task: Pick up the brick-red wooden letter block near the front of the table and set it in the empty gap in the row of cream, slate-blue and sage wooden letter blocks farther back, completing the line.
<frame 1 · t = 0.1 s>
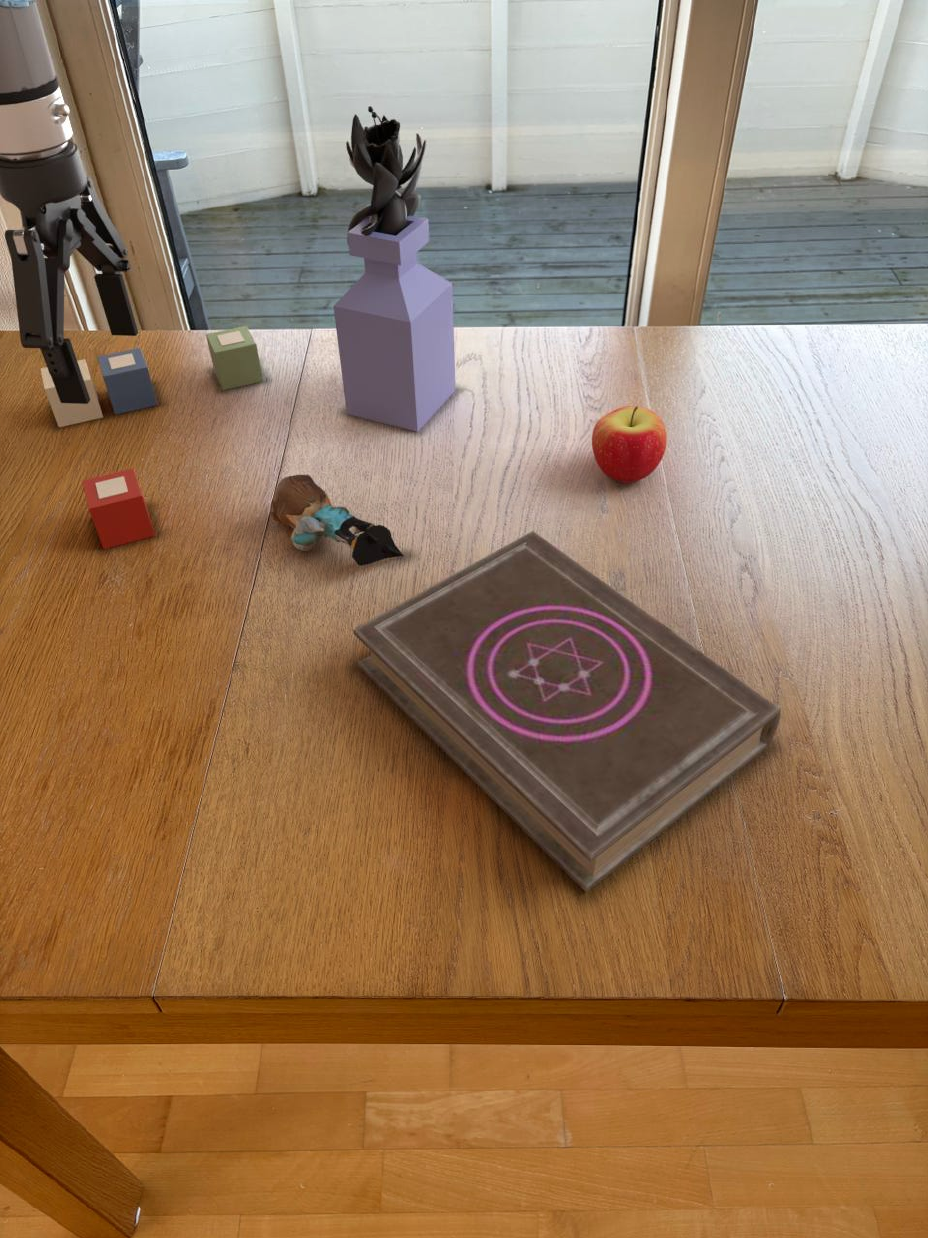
hand: (101, 366, 97), 17 cm above the table, tool pointing down, fingers open, 13 cm apart
sage block: (238, 376, 128), on the table
blue block: (133, 399, 124), on the table
vase: (402, 401, 123), on the table
cream block: (78, 411, 122), on the table
book: (556, 704, 86), on the table
red block: (125, 528, 105), on the table
figurine: (331, 545, 102), on the table
apple: (624, 475, 110), on the table
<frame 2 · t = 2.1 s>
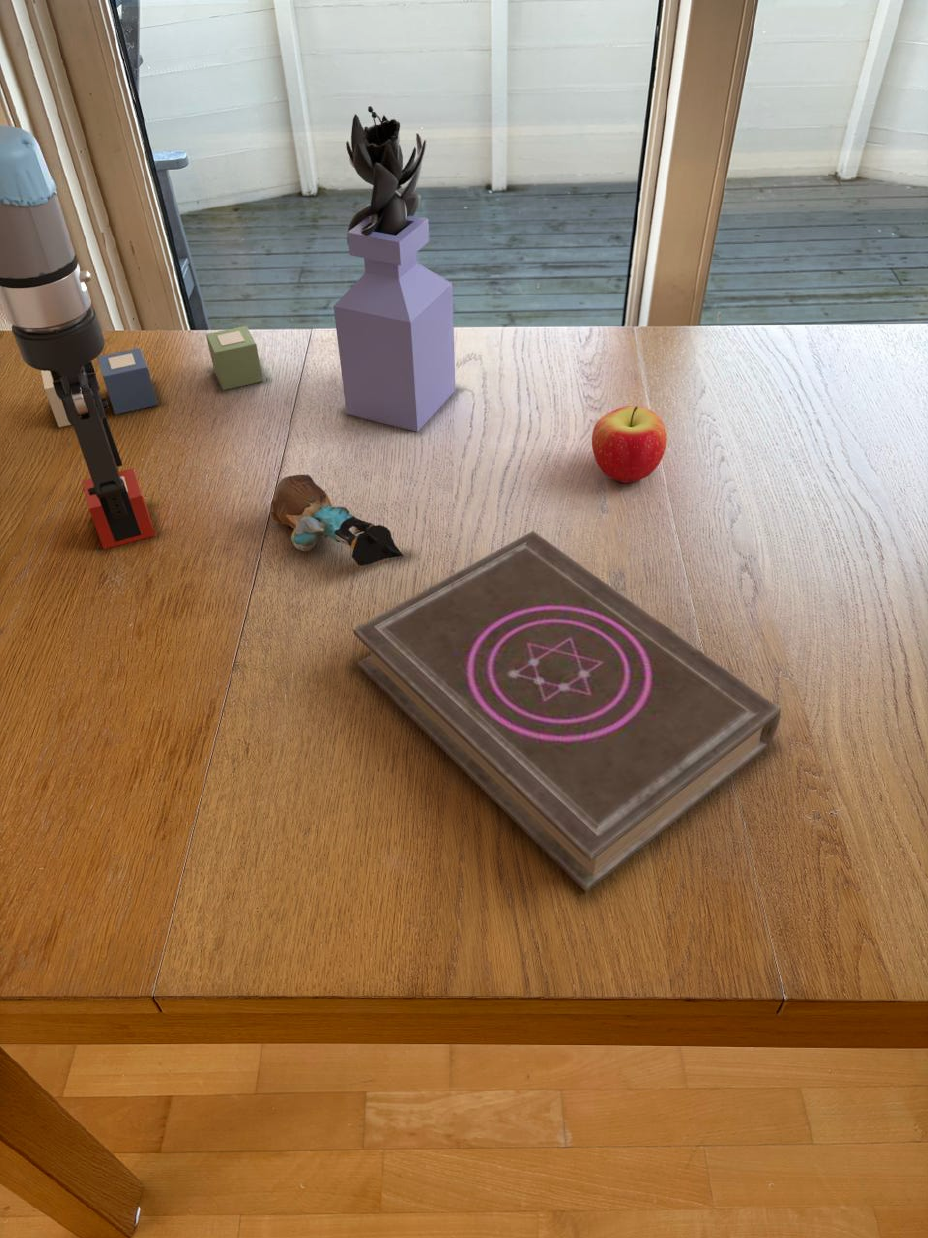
hand: (118, 500, 102), 4 cm above the table, tool pointing down, fingers open, 13 cm apart
nothing on the table moved.
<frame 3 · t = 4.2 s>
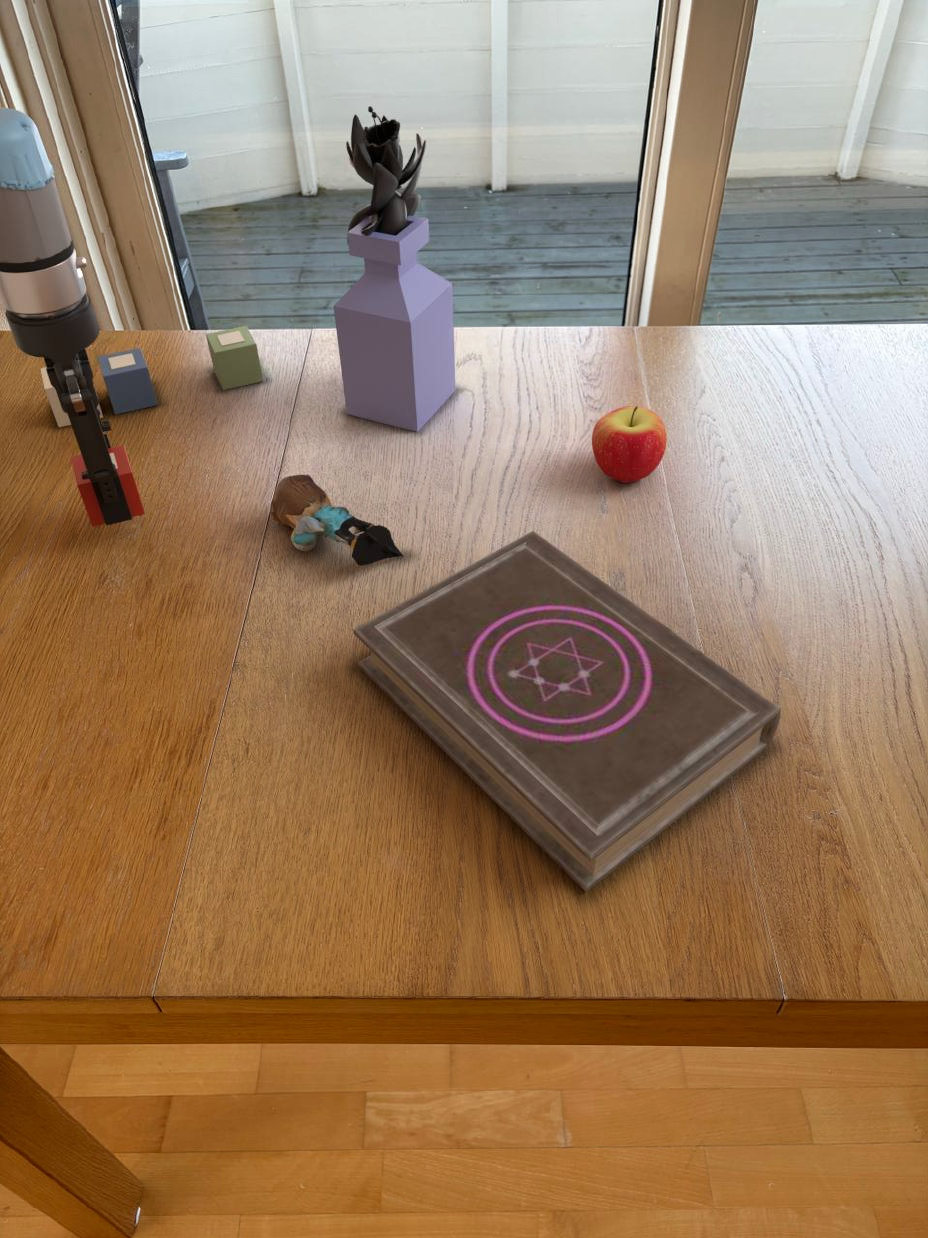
hand: (114, 503, 103), 3 cm above the table, tool pointing down, fingers closed on red block, 5 cm apart
red block: (115, 506, 103), point 3 cm above the table, touching gripper
everything else where it was.
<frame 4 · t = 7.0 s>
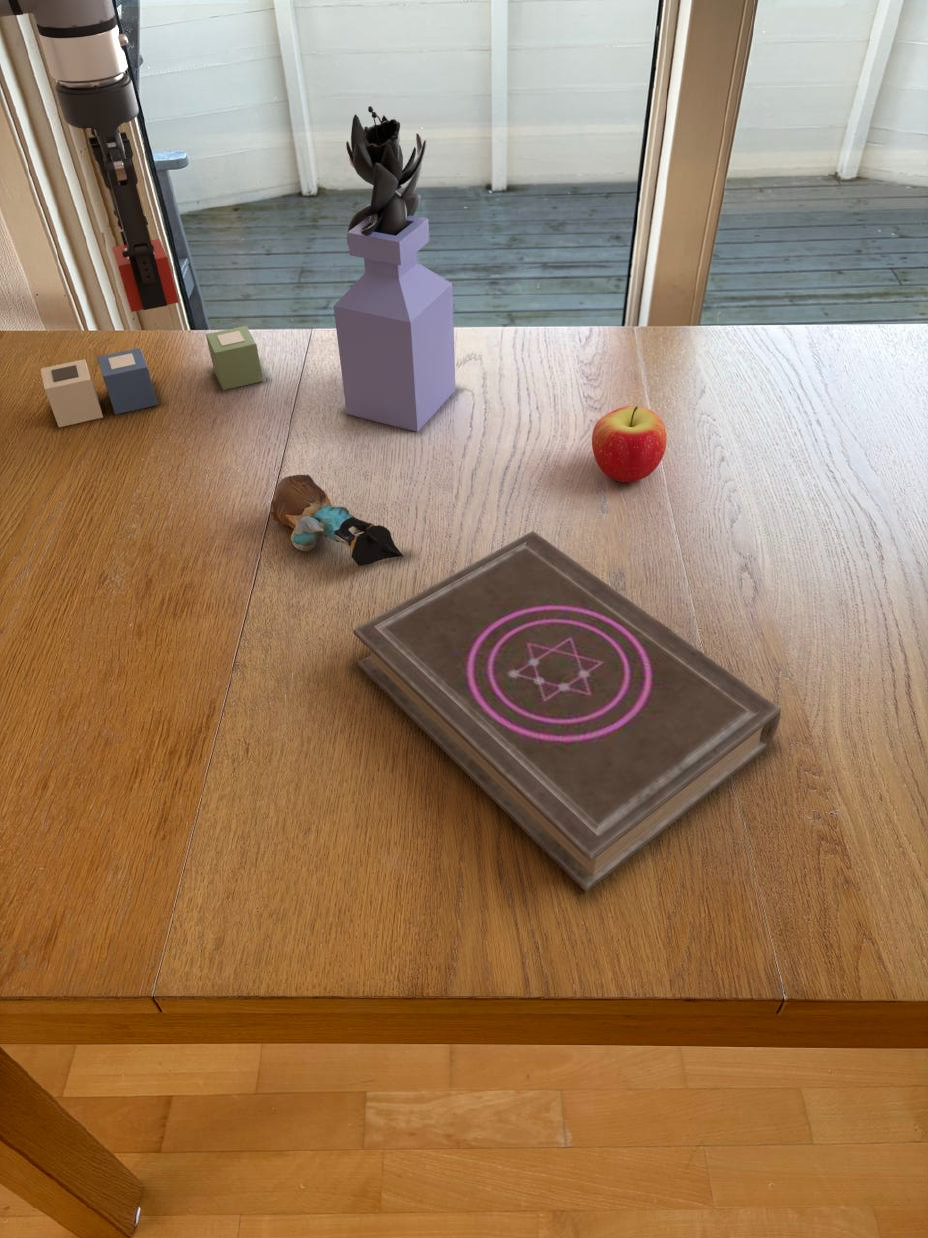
hand: (150, 295, 112), 15 cm above the table, tool pointing down, fingers closed on red block, 5 cm apart
red block: (151, 297, 112), point 15 cm above the table, touching gripper
everything else where it was.
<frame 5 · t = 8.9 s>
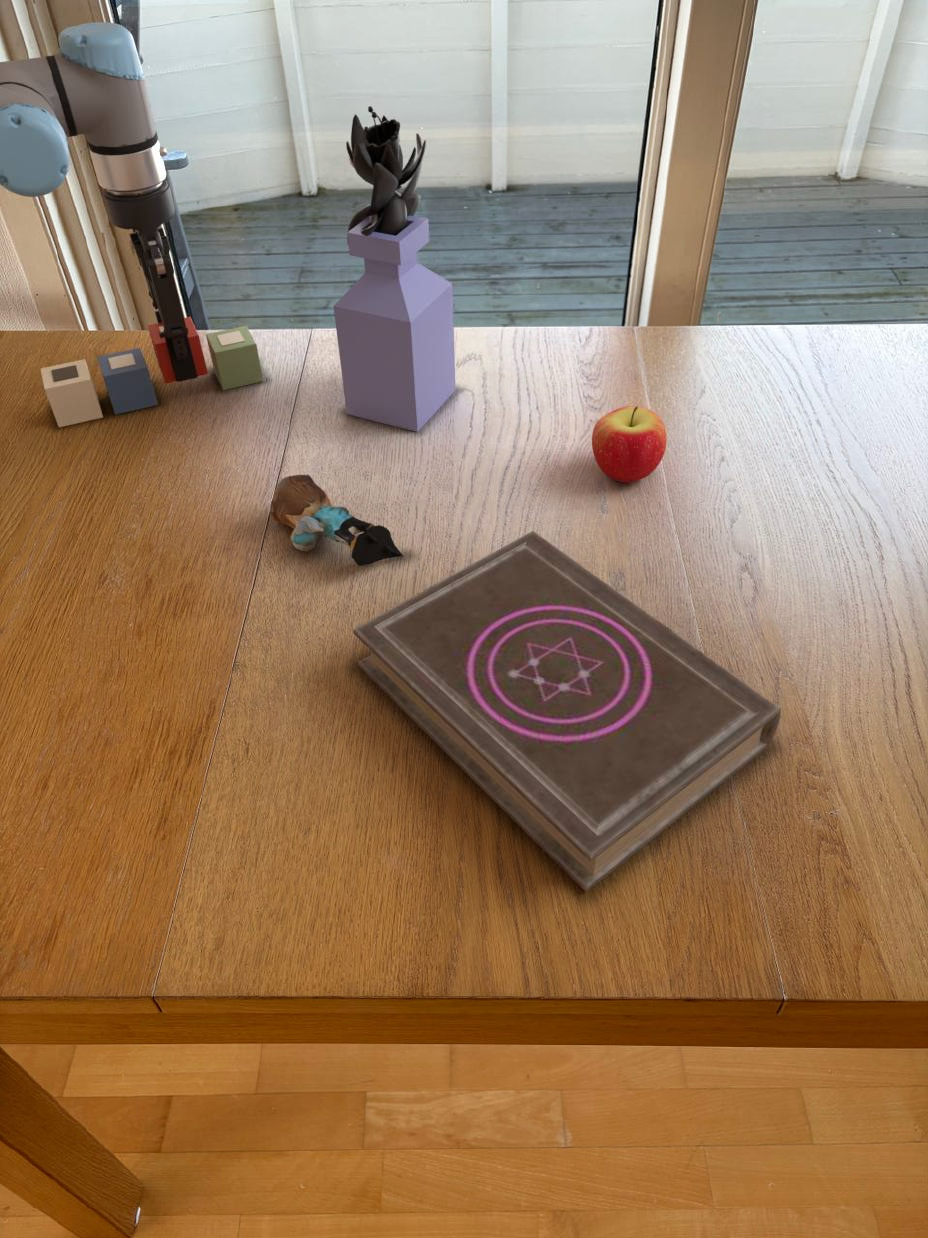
hand: (182, 367, 124), 3 cm above the table, tool pointing down, fingers closed on red block, 5 cm apart
red block: (183, 368, 124), point 3 cm above the table, touching gripper
everything else where it was.
when the fingers open (0 cm above the table, at t = 10.1 s): red block stays where it is, on the table.
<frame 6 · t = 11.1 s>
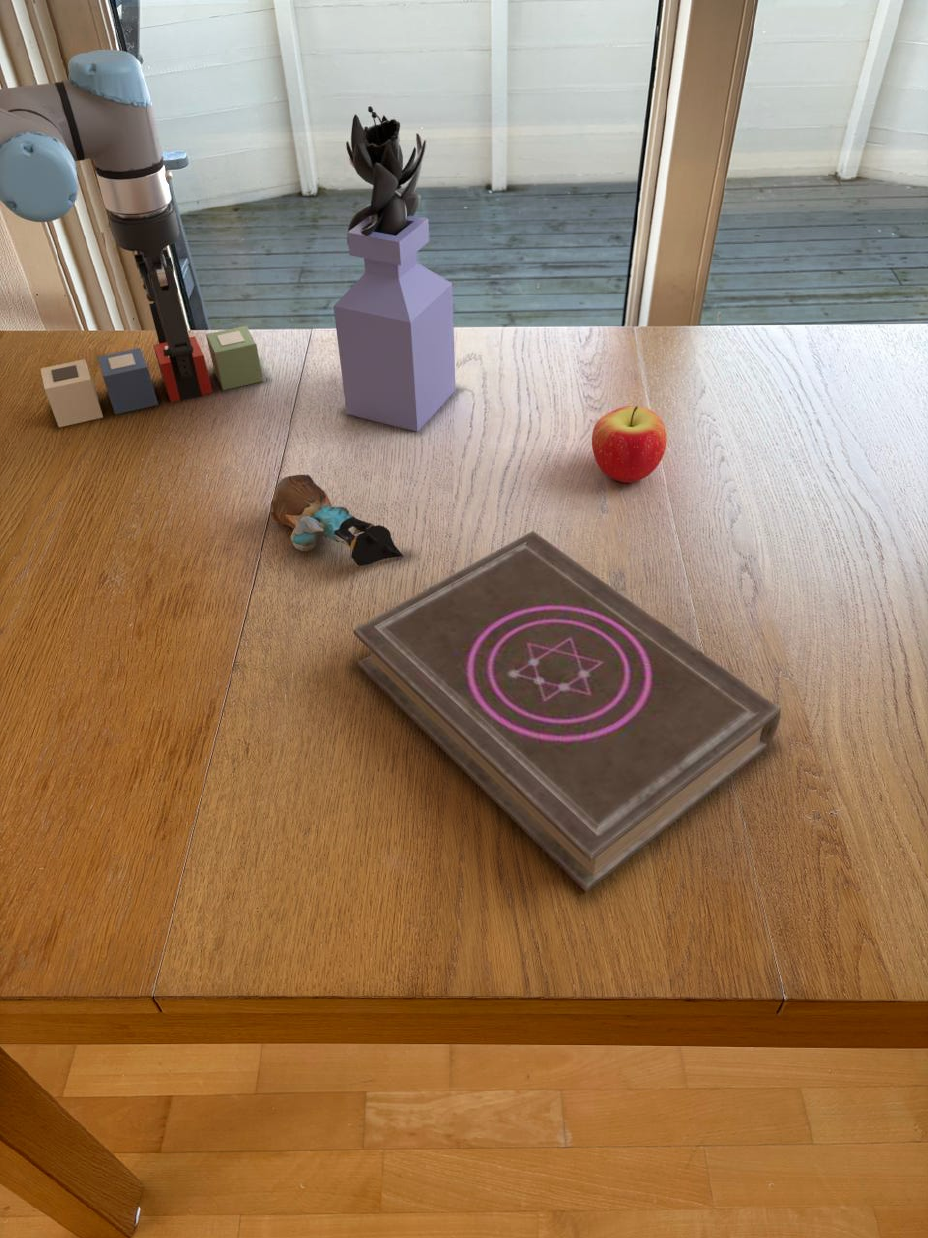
hand: (180, 372, 124), 2 cm above the table, tool pointing down, fingers open, 13 cm apart
red block: (187, 387, 126), on the table
everything else where it was.
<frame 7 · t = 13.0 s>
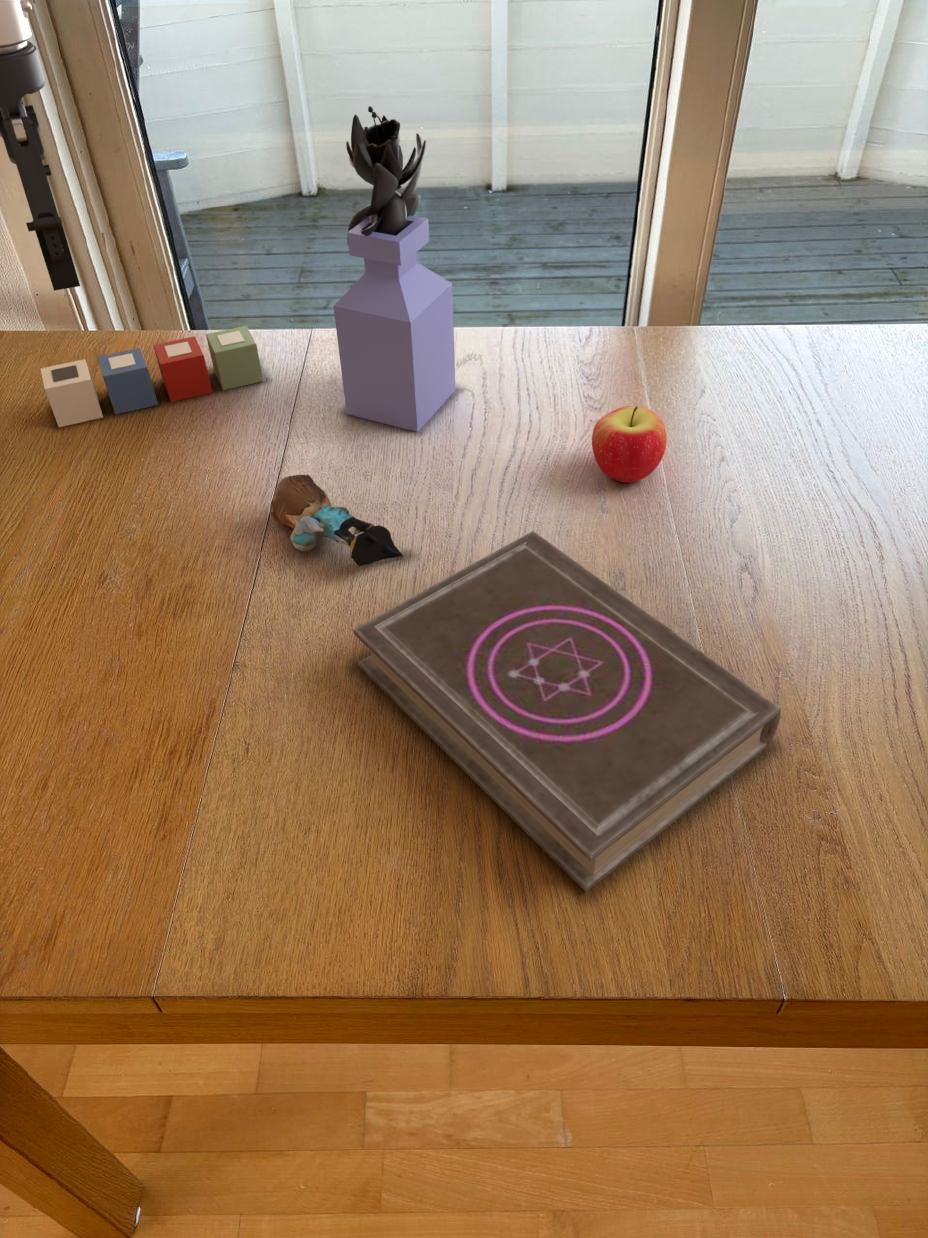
hand: (59, 262, 105), 21 cm above the table, tool pointing down, fingers open, 13 cm apart
nothing on the table moved.
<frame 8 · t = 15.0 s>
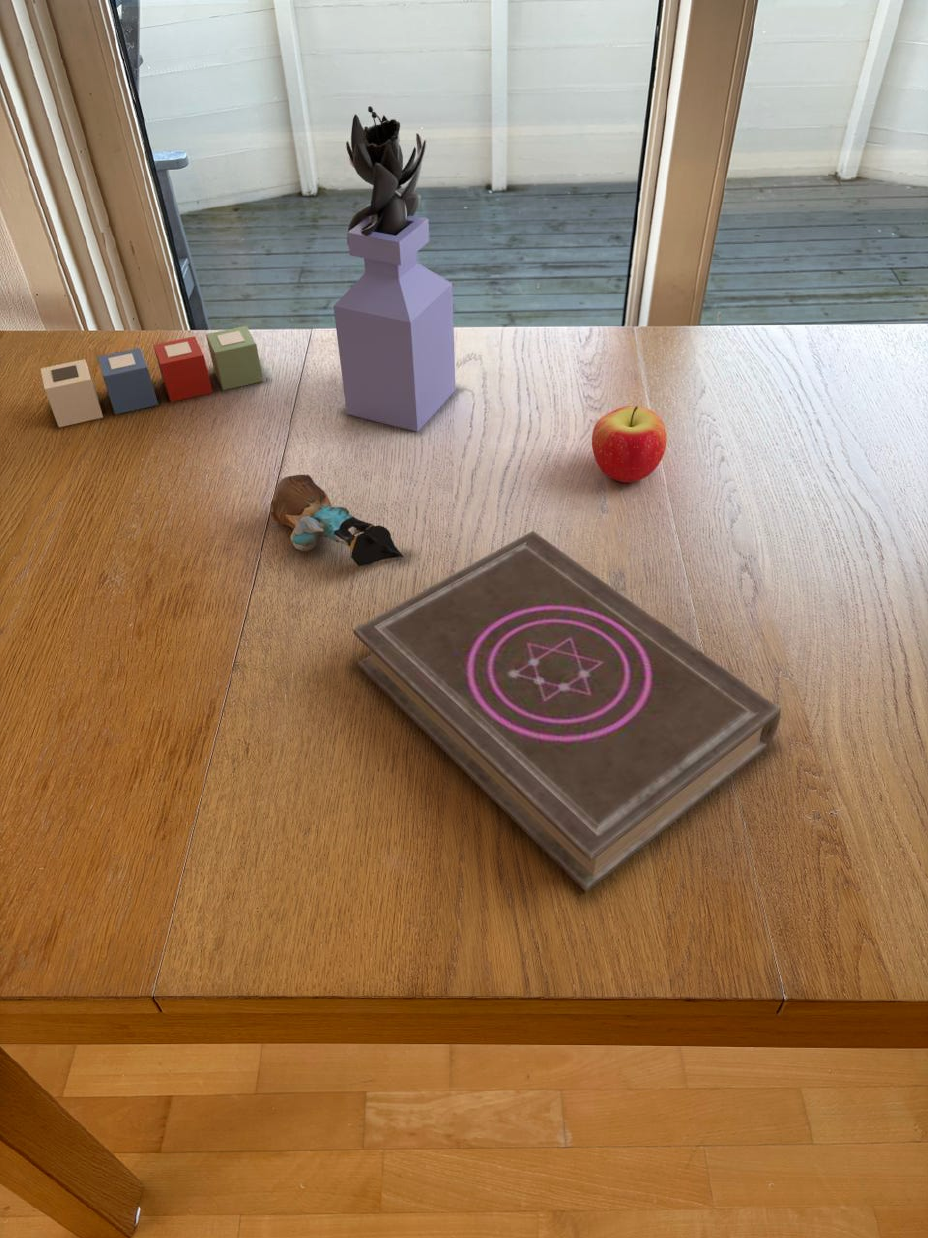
nothing on the table moved.
at the end: red block 0.1 cm from the target spot on the table beside the blue block, on the table; red block tilted 0°; sage block moved 0.0 cm from its start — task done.
